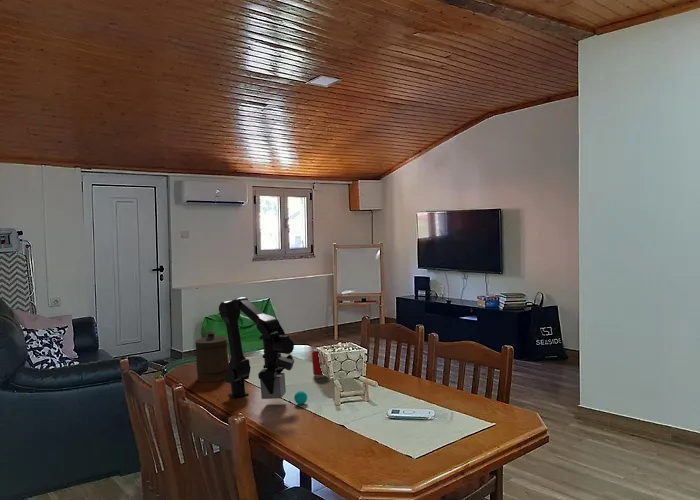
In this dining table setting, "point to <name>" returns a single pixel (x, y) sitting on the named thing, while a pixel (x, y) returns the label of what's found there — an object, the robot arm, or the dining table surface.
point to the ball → (300, 397)
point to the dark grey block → (274, 388)
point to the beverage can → (316, 364)
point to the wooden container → (212, 357)
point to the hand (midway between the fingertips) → (274, 390)
